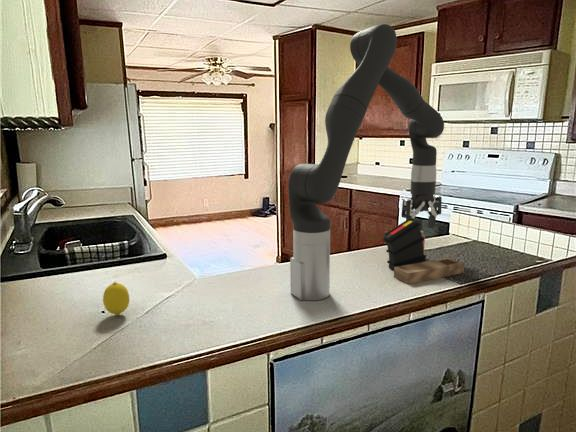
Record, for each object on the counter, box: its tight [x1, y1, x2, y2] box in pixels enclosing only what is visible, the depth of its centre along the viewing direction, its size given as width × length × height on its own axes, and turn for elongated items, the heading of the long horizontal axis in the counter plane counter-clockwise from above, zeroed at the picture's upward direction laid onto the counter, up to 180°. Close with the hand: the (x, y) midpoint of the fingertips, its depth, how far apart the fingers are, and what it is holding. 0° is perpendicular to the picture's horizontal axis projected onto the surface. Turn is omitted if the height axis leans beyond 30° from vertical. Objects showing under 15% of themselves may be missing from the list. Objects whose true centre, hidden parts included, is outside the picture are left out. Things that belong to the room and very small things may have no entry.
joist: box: [393, 257, 465, 285], centre depth 122 cm, size 20×6×3 cm, turn 115°
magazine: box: [382, 218, 427, 271], centre depth 128 cm, size 4×13×15 cm, turn 111°
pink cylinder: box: [421, 230, 426, 248], centre depth 137 cm, size 3×3×9 cm
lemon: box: [102, 281, 130, 316], centre depth 96 cm, size 6×6×8 cm
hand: (420, 229), depth 136 cm, fingers open, 8 cm apart
